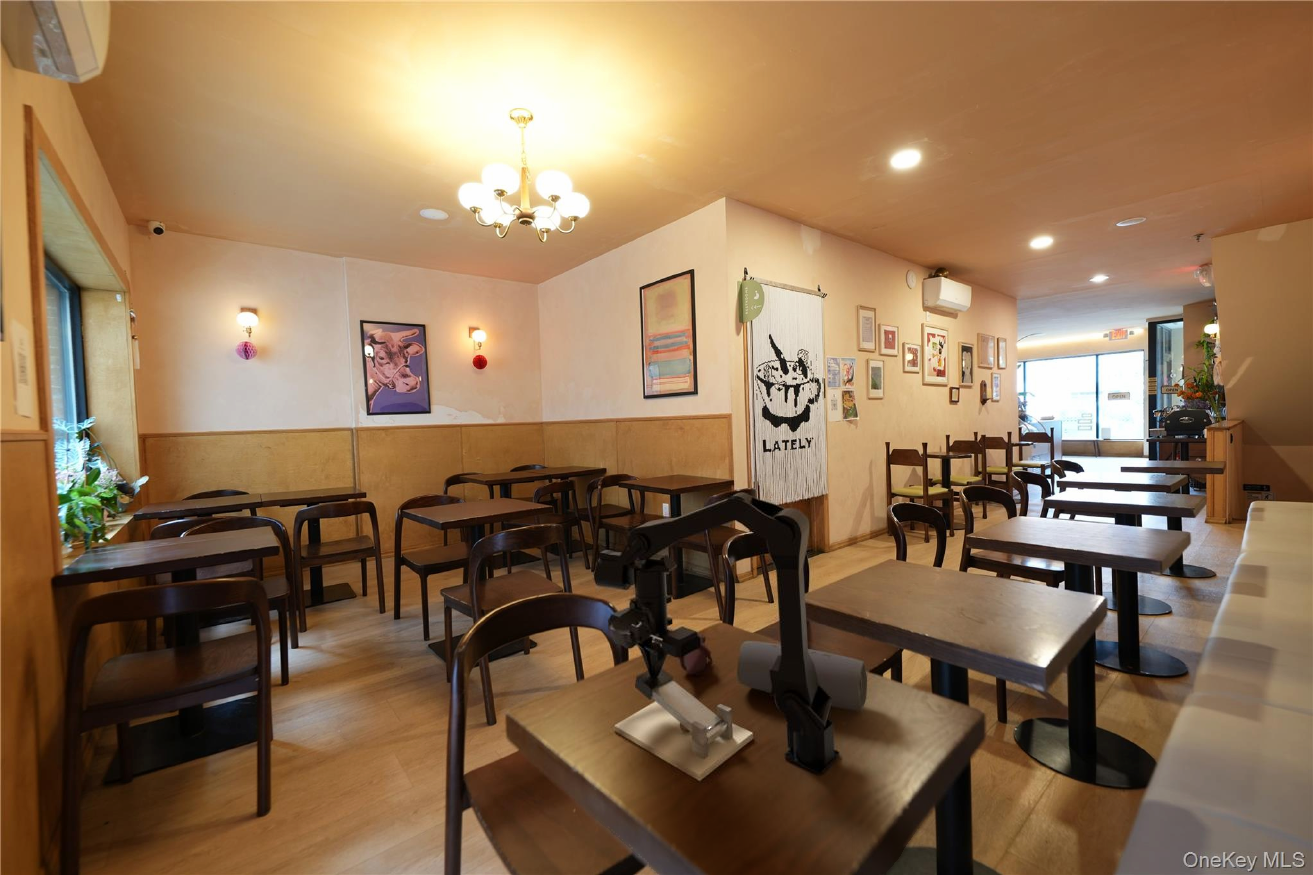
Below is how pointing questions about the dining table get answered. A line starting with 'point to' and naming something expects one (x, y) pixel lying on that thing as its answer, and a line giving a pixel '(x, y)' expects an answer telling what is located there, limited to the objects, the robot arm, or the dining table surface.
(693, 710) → the lever
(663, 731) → the nutcracker board
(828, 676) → the bluetooth speaker
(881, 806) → the dining table surface
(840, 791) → the dining table surface
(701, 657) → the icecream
